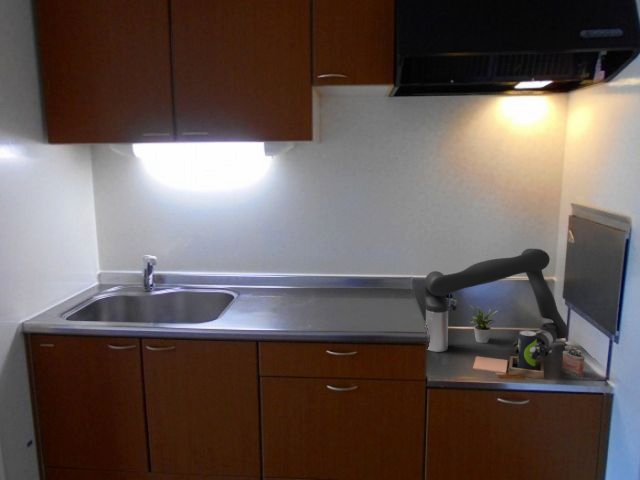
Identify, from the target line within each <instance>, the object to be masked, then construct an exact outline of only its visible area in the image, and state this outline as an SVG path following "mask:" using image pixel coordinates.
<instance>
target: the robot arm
mask: <svg viewBox="0 0 640 480" xmlns="http://www.w3.org/2000/svg"><path fill="white" fill-rule="evenodd" d="M549 263H550V255H549V253H547V251H545V250H543V249H540V248H526V249H524V250H523V251H522V252H521V254H519V255H515V256H512V257H511V256H510V257H502V258H500V257H499V258H493V259H487V260H483V261H480V262H477V263H474V264H472V265H470V266H468V267H466V268H465V269H463V270H461V271H458V272H454V273H448V274H444V273H442V272H441V271H436V270H435V271H431V272H428V274H427V275H426V277H425V279H424V302H425V326H426V325H427V328H428V331H429V335H430V343H429V347H428V349H427V350H428V351H431V352H436V353H437V352H439V353H441V352H445V351H447V350H448V346H449V343H448V340H449V339H448V338H449V334H448V333H449V332H448V331H449V302H448V300H447V299H448V298H447V295H450V294H452V293H454V292H457V291H461V290H464V289H468V288H472V287H473V288H474V287H477V286H481V285H486V284H489V283H494V282H496V281H501V280H505V279H507V278H511V277H513V276H517V275H520V274H526V276H527V278H528V281H529V283H530V285H531V288H532V291H533V294H534V296H535V300H536V304H537V309H538V311H539V314H540V317H541V318H543V319H547V320H551V321H552V322H551V321H549V322H544V323H542V324H541V325H540V329H539V330H537V331H534V332H535V333H536V336H537V341H536V351H534V352H533V353H532V357H531V358H532V359H535V358H536V359H538V358H540V357H542V358H543V359H544V358H547V357H549V356H551V355H552V350H553V347H551V346H552V345H553V344H554V343H555V342H556V340H563V339H566V338H567V337H568V335H569V328H568V325H567V324H566V322H565V321H564V319H563V316H561V314H560V312H559V310H558V306H557V303H556V300H555V297H554V294H553V292H552V291H551V289H550V287H549V285H548V283H547V281H546V279H545V277H544V275H543V270H544V269H546V268H547V267H548V265H549ZM518 345H519V339H515V340H514V342H513V343H512V351H513V355H516V356H517V355H518Z"/></svg>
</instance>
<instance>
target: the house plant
mask: <svg viewBox="0 0 640 480" xmlns="http://www.w3.org/2000/svg"><path fill="white" fill-rule="evenodd" d="M470 307H471V308H472V309H473V310H474V311H472V310H471V314H472V315H474V316H472V317H471V318H472V319H473V320H471V319H470V318H468V320H470V323H469V325H470V324H473V323H477V324H476V325H474V326H473V328H474V336H475V341H476V342H477V343H480V344H487V343H489V338H490V333H491V327H490V325H491V324H494V322H495V320H494V319H490V318H491V317H492V316H493V315H494V314H495V313H498V312H499V310H495V311H494V312H493V313H491V314H490V312H491V309H489V310H488V312H487V314H486V315H485V316H484V312H485V311H486V309H483V311H482V309H481V308H480V306H479V305H477V308H478V309H477V310H478V312H477V310H476V309H475V307H474V306H472V305H470Z"/></svg>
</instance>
